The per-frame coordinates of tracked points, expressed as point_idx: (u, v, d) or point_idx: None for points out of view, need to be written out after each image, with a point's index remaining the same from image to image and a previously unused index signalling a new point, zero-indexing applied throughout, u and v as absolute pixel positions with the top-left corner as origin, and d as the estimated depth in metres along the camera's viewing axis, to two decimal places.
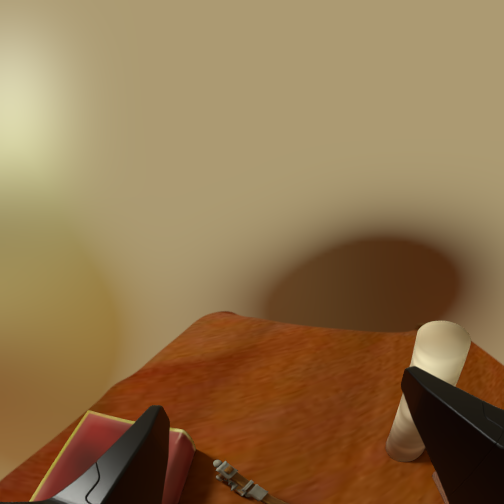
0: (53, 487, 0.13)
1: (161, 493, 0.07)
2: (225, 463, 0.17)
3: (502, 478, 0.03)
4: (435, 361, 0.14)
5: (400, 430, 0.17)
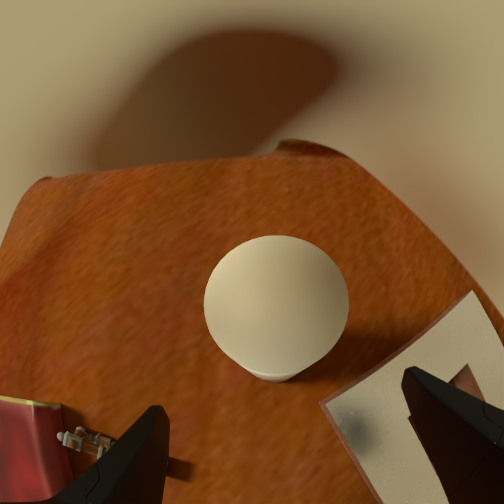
0: None
1: (161, 493, 0.07)
2: (66, 437, 0.13)
3: (502, 478, 0.03)
4: (251, 369, 0.07)
5: None
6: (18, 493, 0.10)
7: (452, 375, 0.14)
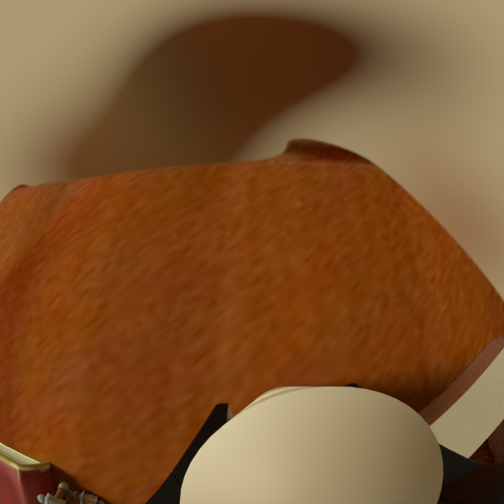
0: None
1: None
2: (47, 501, 0.08)
3: None
4: None
5: None
6: None
7: (488, 434, 0.09)
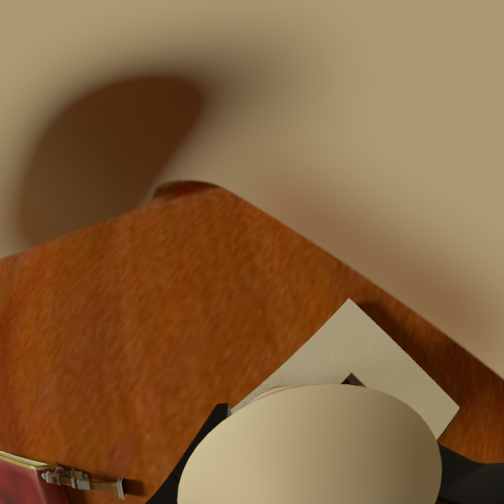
0: None
1: None
2: (47, 475, 0.14)
3: None
4: None
5: None
6: None
7: None
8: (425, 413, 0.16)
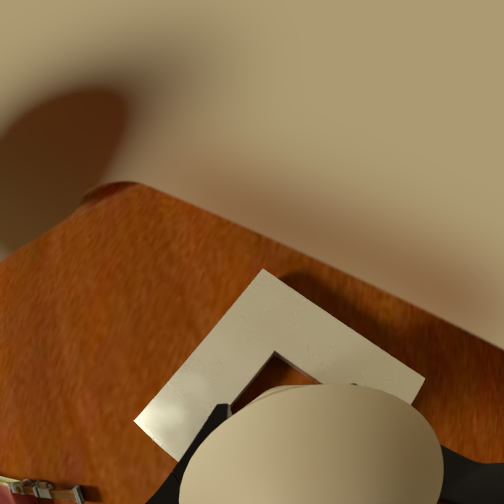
0: None
1: None
2: (12, 485, 0.11)
3: None
4: None
5: None
6: None
7: (256, 368, 0.17)
8: None
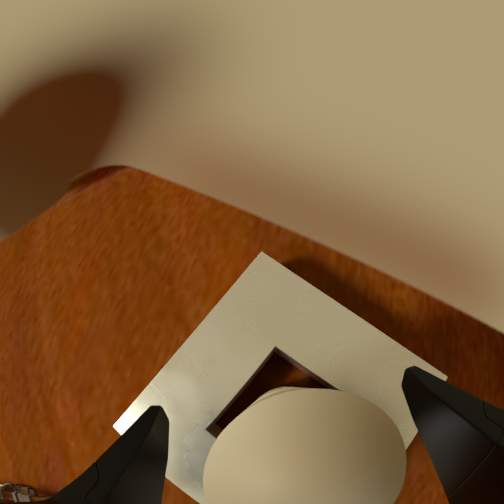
0: None
1: (161, 493, 0.07)
2: None
3: (503, 477, 0.03)
4: None
5: None
6: None
7: (254, 368, 0.14)
8: (397, 391, 0.13)
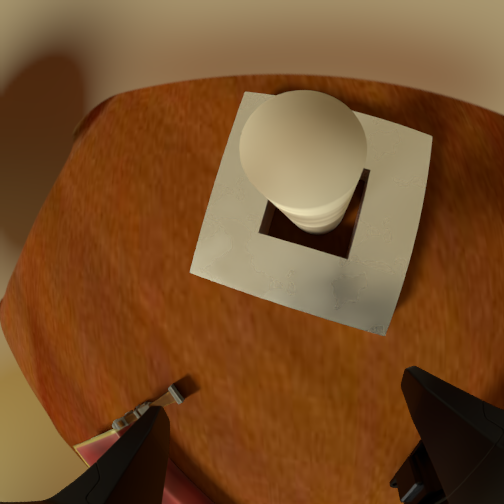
0: None
1: (161, 493, 0.07)
2: (115, 423, 0.21)
3: (502, 478, 0.03)
4: (306, 209, 0.09)
5: (301, 227, 0.17)
6: None
7: None
8: (393, 153, 0.17)
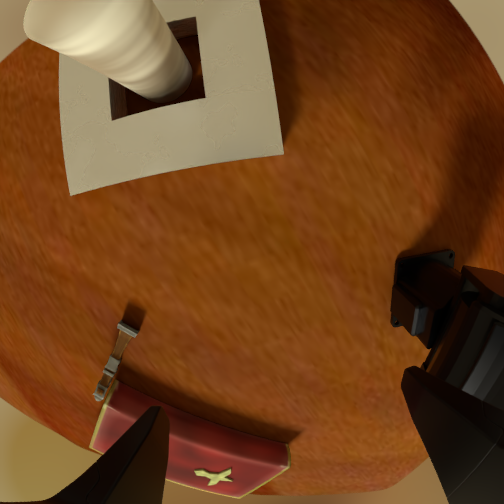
0: (173, 477, 0.26)
1: (161, 493, 0.07)
2: (95, 394, 0.20)
3: (502, 478, 0.03)
4: (88, 30, 0.05)
5: (142, 89, 0.13)
6: (177, 460, 0.24)
7: None
8: None
